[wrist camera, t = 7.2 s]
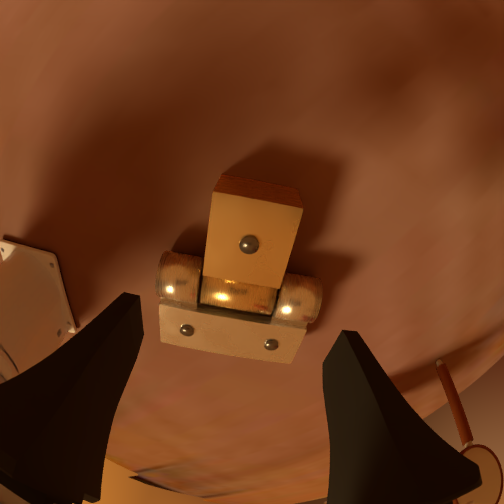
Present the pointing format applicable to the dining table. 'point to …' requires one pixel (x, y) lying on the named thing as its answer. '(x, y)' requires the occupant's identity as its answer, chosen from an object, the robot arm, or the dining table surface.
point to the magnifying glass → (473, 449)
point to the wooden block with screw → (248, 243)
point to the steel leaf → (232, 314)
